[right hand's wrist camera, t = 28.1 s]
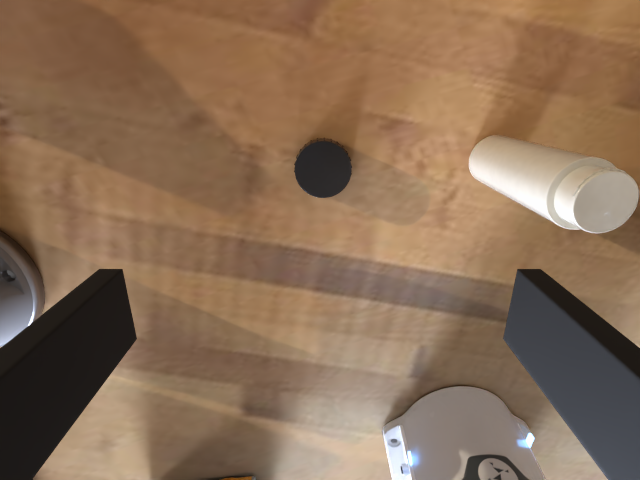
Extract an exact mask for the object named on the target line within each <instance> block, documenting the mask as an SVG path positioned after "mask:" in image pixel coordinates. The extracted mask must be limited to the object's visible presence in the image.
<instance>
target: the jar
mask: <svg viewBox="0 0 640 480" xmlns="http://www.w3.org/2000/svg"><path fill="white" fill-rule="evenodd" d="M469 169H470V172H471V174H472V176H473V177H474V178H475V179H476V180H477V181H479V182H481V183H483V184H484V185H486V186H488V187H490V188H492V189H493V190H495V191H497V192H499V193H501V194H502V195H504V196H506V197H508V198H510V199H511V200H513V201H515V202H517V203H519V204H520V205H522V206H524V207H526V208H528V209H529V210H531V211H533V212H535V213H537V214H538V215H540V216H542V217H544V218H546V219H547V220H549V221H551V222H553V223H555V224H556V225H558V226H560V227H563V228H566V229H582V230H584V231H586V232H590V233H605V232H609V231H611V230H614V229H616V228H618V227H619V226H621V225H622V224H623V223H625V222H626V221H627V220H628V219H629V218H630V216H631V215H632V214H633V212H634V211H635V209H636V207H637V204H638V200H639V189H638V185H637V183H636V182H635V180H634V179H633V178H632V177H631V176H630V175H629V174H627V173H626V172H625V171H623V170H620V169H618V168H616V167H615V166H614V165H613V164H612V163H611V162H609V161H607V160H605V159H602V158H599V157H594V156H590V155H586V154H581V153H577V152H573V151H568V150H564V149H560V148H555V147H551V146H547V145H542V144H538V143H534V142H529V141H525V140H521V139H516V138H512V137H508V136H503V135H492V136H489V137H486V138H484V139H483V140H481V141H480V142H479V143H478V144H477V145H476V146H475V147H474V149H473V150H472V152H471V155H470V158H469Z"/></svg>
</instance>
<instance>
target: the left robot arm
mask: <svg viewBox="0 0 640 480" xmlns="http://www.w3.org/2000/svg"><path fill="white" fill-rule="evenodd" d="M382 432H383V437H384V442H385V446H386V451H387V456H388V461H389V466H390V471H391V476H392V480H546V479H545V477H544V475H543V473H542V471H541V468H540V466H539V464H538V462H537V460H536V458H535V456H534V454H533V452H532V450H531V448H530V447H531V445H532V443H533V440H534V437H533V435H532V434H531V433H530V430H529V427H528V425H527V424H526V422H524V421H523V420H521V419H520V418H518V417H516V416H514V415H513V414H512V413H511V412H510V411H509V409H508V408H507V406H506V405H505V403H504V402H503V401H502V400H501V399H500V398H499V397H497V396H496V395H494V394H493V393H491V392H489V391H486V390H483V389H480V388H476V387H468V386H457V387H449V388H444V389H440V390H437V391H435V392H432V393H430V394H428V395H426V396H424V397H423V398H421V399H420V400H418V401H417V402H416V403H414V404H413V405H412V406H411V407H410V408H409V409H408V410H407V412H406V413H404V414H403V415H402V416H401V417H399V418H397V419H394V420H392V421H391V422H389V423H387V424H386V425H385V426H384V427H383V430H382Z"/></svg>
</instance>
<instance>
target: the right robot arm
mask: <svg viewBox="0 0 640 480" xmlns="http://www.w3.org/2000/svg"><path fill="white" fill-rule="evenodd" d="M44 301H45V292H44V286H43V282H42V279H41V276H40V274H39V271H38V269H37V268H36V266H35V264H34V262H33V261H32V260H31V258H30V257H29V256H28V254H27V253H26V252H25V251H24V250H23V249H22V248H21V247H20V246H19V245H18V244H17V243H16V242H15V241H14V240H13V239H11V238H10V237H9V236H7V235H6V234H4V233H3V232H1V231H0V347H1V346H2V347H1V348H0V480H33V477H34V476H35V475H36V473H37V472H38V471H39V469H40V468H41V467H42V465H43V464H44V463H45V461H46V460H47V459H48V457H49V456H50V455H51V453H52V452H53V451H54V449H55V448H56V446H57V445H58V444H59V442H60V441H61V440H62V438H63V437H64V436H65V434H66V433H67V432H68V430H69V429H70V428H71V426H72V425H73V424H74V422H75V421H76V420H77V418H78V417H79V416H80V414H81V413H82V412H83V410H84V409H85V408H86V406H87V405H88V404H89V402H90V401H91V400H92V398H93V397H94V396H95V394H96V393H97V392H98V390H99V389H100V388H101V386H102V385H103V383H104V382H105V381H106V379H107V378H108V377H109V375H110V374H111V373H112V371H113V370H114V369H115V367H116V366H117V365H118V363H119V362H120V361H121V359H122V358H123V357H124V355H125V354H126V353H127V351H128V350H129V349H130V347H131V346H132V345H133V343H134V342H135V341H136V339H137V337H136V333H135V328H134V323H133V318H132V313H131V308H130V303H129V299H128V294H127V289H126V284H125V279H124V274H123V269H99V270H98V271H96V272H95V273H94V274H93V275H91V276H90V277H89V278H88V279H86V280H85V281H84V282H83V283H81V284H80V285H79V286H78V287H76V288H75V289H74V290H73V291H71V292H70V293H69V294H68V295H66V296H65V297H64V298H63V299H61V300H60V301H59V302H58V303H56V304H55V305H54V306H53V307H51V308H50V309H49V310H48V311H46V312H45V313H44V314H43V315H41V313H42V311H43V307H44ZM503 339H504V341H505V342H506V343H507V345H508V346H509V347H510V349H511V350H512V351H513V353H514V354H515V355H516V357H517V358H518V359H519V361H520V362H521V363H522V365H523V366H524V367H525V369H526V370H527V371H528V373H529V374H530V375H531V377H532V378H533V379H534V381H535V382H536V383H537V385H538V386H539V388H540V389H541V390H542V392H543V393H544V394H545V396H546V397H547V398H548V400H549V401H550V402H551V404H552V405H553V406H554V408H555V409H556V410H557V412H558V413H559V414H560V416H561V417H562V418H563V420H564V421H565V422H566V424H567V425H568V426H569V428H570V429H571V430H572V432H573V433H574V434H575V436H576V437H577V438H578V440H579V441H580V442H581V444H582V445H583V447H584V448H585V449H586V451H587V452H588V453H589V455H590V456H591V457H592V459H593V460H594V461H595V463H596V464H597V465H598V467H599V468H600V469H601V471H602V472H603V473H604V475H605V476H606V477H607V479H608V480H640V348H639V347H638V346H636V345H635V344H634V343H633V342H631V341H630V340H629V339H628V338H626V337H625V336H624V335H623V334H621V333H620V332H619V331H618V330H616V329H615V328H614V327H613V326H611V325H610V324H609V323H608V322H606V321H605V320H604V319H602V318H601V317H600V316H599V315H597V314H596V313H595V312H594V311H592V310H591V309H590V308H589V307H587V306H586V305H585V304H584V303H582V302H581V301H580V300H579V299H577V298H576V297H575V296H574V295H572V294H571V293H570V292H569V291H567V290H566V289H565V288H564V287H562V286H561V285H560V284H559V283H557V282H556V281H555V280H554V279H552V278H551V277H550V276H549V275H547V274H546V273H545V272H544V271H542V270H541V269H517V274H516V279H515V284H514V289H513V294H512V299H511V303H510V308H509V313H508V318H507V323H506V328H505V333H504V337H503Z"/></svg>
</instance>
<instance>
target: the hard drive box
mask: <svg viewBox="0 0 640 480" xmlns="http://www.w3.org/2000/svg"><path fill="white" fill-rule="evenodd" d="M221 480H256V478H255V476H249V477H241V478H234V477H232V478H224V479H221Z"/></svg>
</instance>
